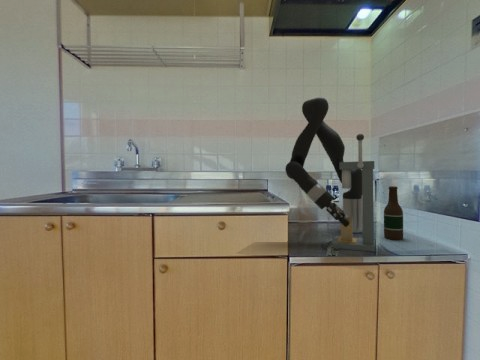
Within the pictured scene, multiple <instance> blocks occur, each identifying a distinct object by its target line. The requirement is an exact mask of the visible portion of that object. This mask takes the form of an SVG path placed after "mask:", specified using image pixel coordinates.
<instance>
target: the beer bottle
mask: <svg viewBox="0 0 480 360" xmlns="http://www.w3.org/2000/svg"><path fill="white" fill-rule="evenodd" d="M387 189H388V202H387V204H386V205H385V206H384V209H383V237H384V238H385V239H387V240H390V241H391V240H392V241H401V240H403V239H404V211H403V208H402V207H401V205H400V204H399V198H398V197H399V196H398V186H395V185H393V186H388V188H387Z"/></svg>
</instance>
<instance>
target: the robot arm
mask: <svg viewBox="0 0 480 360" xmlns="http://www.w3.org/2000/svg"><path fill="white" fill-rule="evenodd" d="M328 111H329V102H328V100H327V99H326V98H325V97H322V96H321V97H320V96H319V97H315V98H312V99H308V100H306V101H304V102H303V104H302V106H301V112H302V114H303V116H304V119H305V120H306V121H307V125H306V126H305V127H304V128H303V130H302V131H301V132H300V134H299V135H298V137H297V138H296V140H295V142H294V145H293V148H292V151H291V156H290V157H291V158H290V161H289V162H288V163H287V164H286V165H285V168H284V169H285V174H286V176H287V177H288V178H289V179H291V180H294V182H295V183H297V184H298V187H299V188H300V189H301V190H302V192H304V194H306V195H307V197H308V198H309V199H310V200H311V201H312V202H313V203H314V204H315V205H317V207H318V208H319V209H320V210H324V208H326V209H325V210H326V212H328V214H329V215H330V216H331V217H332V218H334V219H335V221H338V222H340V224H341V223H342V224H343V225H344V226H345V227H347V226H348V225H349V222H348V221H347V220H346V219H345V215H348V216H349V218H353V234H355V233H363V225H362V169H351V188H350V189H348V191H345V192H343V193H342V209H341V208H340V206H338V204H336V202H332V201H333V200H334V199H335V198H334V196H333V195H332V194H331V193H330V191H328V190H327V189H325V187H324V186H323V185H321V184H320V183H319V182H318V181H316V179H314V178H313V177H312V176H311V175H310V174H309V172H307V170H306V169H305V168H304V165H305V162H306V158H307V157H308V154H309V151H310V149H311V146H312V144H313V141H314V138H315V137H316V136H317V138H318V140H319V142H320V143H321V145H322V148H323V149H324V152H325V153H326V154H327V156H328V158H329V160H330V162H331V164H332V166H333V167H334V168H333V169H334V170H335V173H336V175H337V177H338V180H339V182H340V183H341V184H342V170H340V168H339V162H345V161H344V156H345V149H346V148H345V143H344V142H343V140H342V138H341V136H340V135H339V133H338V132H337V131H336V130H334V129H333V128H332V127H331V126H329V125H328V124H327V123H326V122H325V121H324V119H325V118H326V116H327V115H328Z"/></svg>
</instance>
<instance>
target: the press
mask: <svg viewBox="0 0 480 360" xmlns="http://www.w3.org/2000/svg"><path fill="white" fill-rule="evenodd" d="M355 138H356V140H357V143H358V144H357V147H358V149H357V150H358V156H357V157H358V159H357V160H358V161H344V162H339V168H340V170H342V183H341V189H343V190H344V189H348V190H350V189H351V169H361V170H362V237H353V240H352V241H342V240H341V235H340V236H339V235H334V237H333V240H332V241H331V248H333V249H342V250H343V249H344V250H354V251H363V252H372V253H373V252H374V253H376V240H375V235H374V234H375V233H374V232H375V231H374V229H375V227H374V223H375V222H374V215H375V214H374V212H375V211H374V169H375V160H364V161H363V140H364V139H365V135H364V134H363V133H358V134H356V137H355Z"/></svg>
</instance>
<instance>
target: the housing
mask: <svg viewBox="0 0 480 360" xmlns="http://www.w3.org/2000/svg"><path fill="white" fill-rule="evenodd" d="M345 219H346V220H347V221H348V222H349V225H348V226H347V227H345V226H344V225H343V224H342V223H341V222H340V237H341V240H342V241H352V240H353V238H354V233H353V218H349V216H348V215H345Z"/></svg>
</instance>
